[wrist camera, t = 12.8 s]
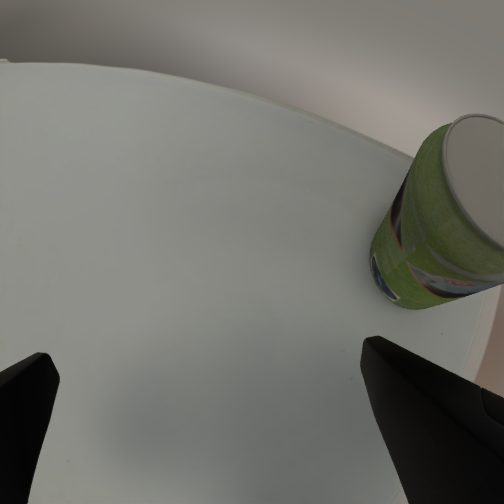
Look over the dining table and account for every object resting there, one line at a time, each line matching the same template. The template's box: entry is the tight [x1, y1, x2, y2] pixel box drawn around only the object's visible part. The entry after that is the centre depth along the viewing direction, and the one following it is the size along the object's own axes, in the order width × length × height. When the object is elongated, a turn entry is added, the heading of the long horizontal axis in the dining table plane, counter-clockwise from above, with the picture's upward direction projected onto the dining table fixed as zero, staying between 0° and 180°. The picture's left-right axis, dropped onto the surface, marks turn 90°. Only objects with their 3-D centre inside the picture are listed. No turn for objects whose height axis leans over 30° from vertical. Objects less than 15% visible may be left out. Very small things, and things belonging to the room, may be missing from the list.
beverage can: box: [370, 114, 504, 310], centre depth 12 cm, size 6×7×12 cm
